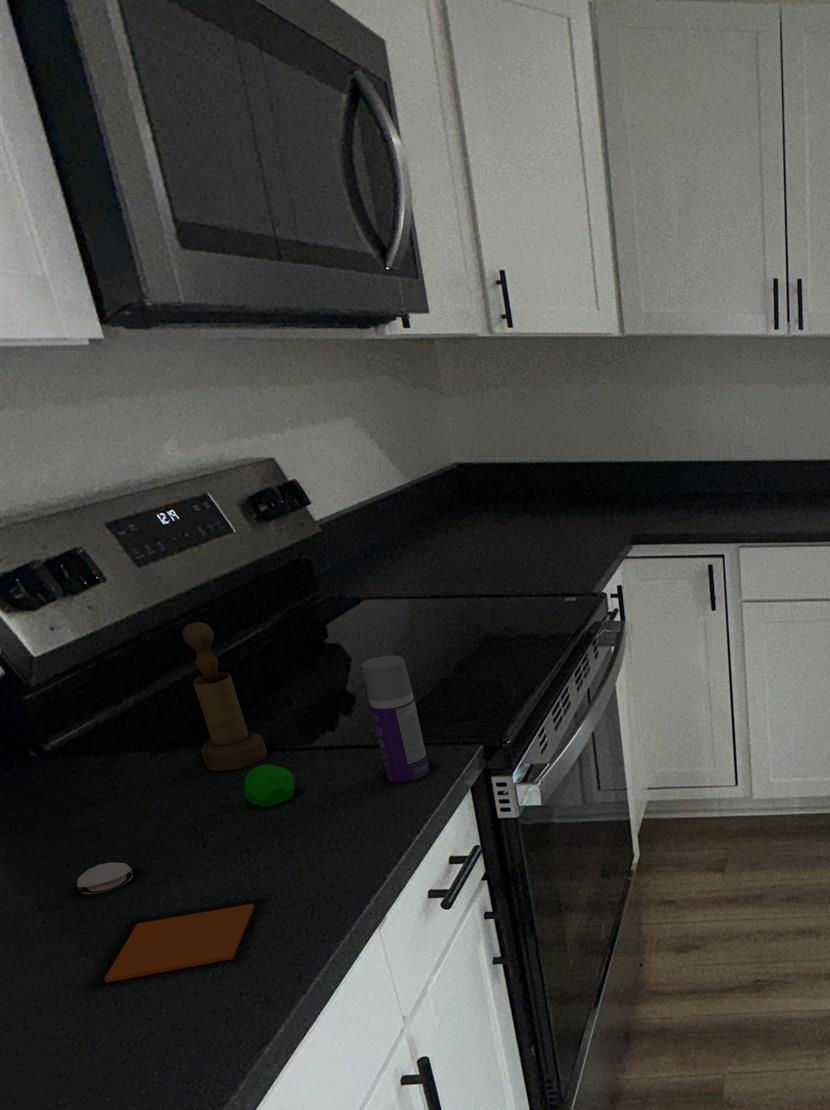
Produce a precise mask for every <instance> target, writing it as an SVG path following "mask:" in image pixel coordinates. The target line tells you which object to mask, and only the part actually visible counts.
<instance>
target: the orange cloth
mask: <svg viewBox="0 0 830 1110" xmlns="http://www.w3.org/2000/svg"><path fill="white" fill-rule="evenodd" d="M254 910H255V905H254V903H250V904H249V903H248V904H243V905H237V906H231V907H226V908H220V909H214V910H213V909H212V910H209V911H208V910H207V911H203V912H196V913H191V914H185V915H179V916H173V917H168V918H162V919H156V920H150V921H145V922H139V923H136V925H135V927H134V929H133V930H132V932H131V933H130V935H129V937H128V938H127V940H126V942H125V944H124V945H123V947H122V948H121V950H120V952H119V953H118V955H117V957H116V959H115V960H114V962H113V963H112V966H111V967H110V968H109V971H108V972H107V973H106V975H105V977H104V982H105V983H112V982H117V981H122V980H128V979H133V978H138V977H144V976H149V975H154V974H161V973H165V972H170V971H175V970H181V969H186V968H192V967H198V966H202V965H207V964H212V963H218V962H222V961H229V960H233V959H234V957H235V955H236V952H237V950H238V949H239V945H240V943H241V940H242V938H243V936H244V934H245V931H246V929H247V926H248V923H249V921H250V919H251V916H252V914H253V912H254Z"/></svg>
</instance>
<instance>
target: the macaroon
mask: <svg viewBox="0 0 830 1110" xmlns="http://www.w3.org/2000/svg"><path fill="white" fill-rule="evenodd" d="M127 874H129V875H131V876H130V878H128V880H127ZM133 877H134V871H133V870H132V867H131V866H129V865H128V864H127V863H125V862H115V861H114V862H106V863H101V864H98V865H95V866H93V867H90V868H88V869H87V870H85V872H84V873H82V874H81V875H79V877H78V878H77V883H76V886H77V889H78V890H79V891H80V893H82V894H86V895H95V894H101V893H104V892H108V891H112V890H114V889H116V888H119V887H121V886H123V885H125V884H127V883H128V882H130V881H131V880H132V878H133ZM83 888H85V889H87V890H88V891H89V892H85V891H83Z"/></svg>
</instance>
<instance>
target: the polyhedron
mask: <svg viewBox="0 0 830 1110" xmlns="http://www.w3.org/2000/svg"><path fill="white" fill-rule="evenodd" d="M244 795H245V798H246V799H247V800H248V801H249V802H250V803H251V804H253V805H256V806H259V807H263V808H267V807H273V806H276V805H279V804H282V803H285V802H287V801H289V800H291V798H293V796H294V795H295V779H294V775H293V773H291V771H289V770H288V768H285V767H281V766H277V765H274V764H270V763H265V764H262V765H259V766H256V767H255V768H253V769H252V770H250V771H249V773H248V774H247V775H246V776H245V777H244Z"/></svg>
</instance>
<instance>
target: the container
mask: <svg viewBox="0 0 830 1110" xmlns="http://www.w3.org/2000/svg"><path fill="white" fill-rule="evenodd" d="M361 670H362V674H363V680H364V684H365V689H366V693H367V694H366V695H367V698H368V702H369V708H370V711H371V715H372V720H373V723H374V729H375V733H376V736H377V740H378V745H379V749H380V754H381V757H382V762H383V765H384V770H385V774H386V779H388V780H389V781H391V782H397V783H403V782H410V781H414V780H418V779H420V778H423V777H425V776H426V775H427V774H428V773H429V771H430V766H429V761H428V756H427V753H426V747H425V743H424V738H423V733H422V729H421V725H420V720H419V714H418V711H417V706H416V700H415V697H414V693H413V689H412V685H411V681H410V677H409V674H408V669H407V665H406V661H405V658H404V657H403V656H400V655H382V656H376V657H372V658H369V659H367V660H365V661H363V662H362V663H361Z"/></svg>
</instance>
